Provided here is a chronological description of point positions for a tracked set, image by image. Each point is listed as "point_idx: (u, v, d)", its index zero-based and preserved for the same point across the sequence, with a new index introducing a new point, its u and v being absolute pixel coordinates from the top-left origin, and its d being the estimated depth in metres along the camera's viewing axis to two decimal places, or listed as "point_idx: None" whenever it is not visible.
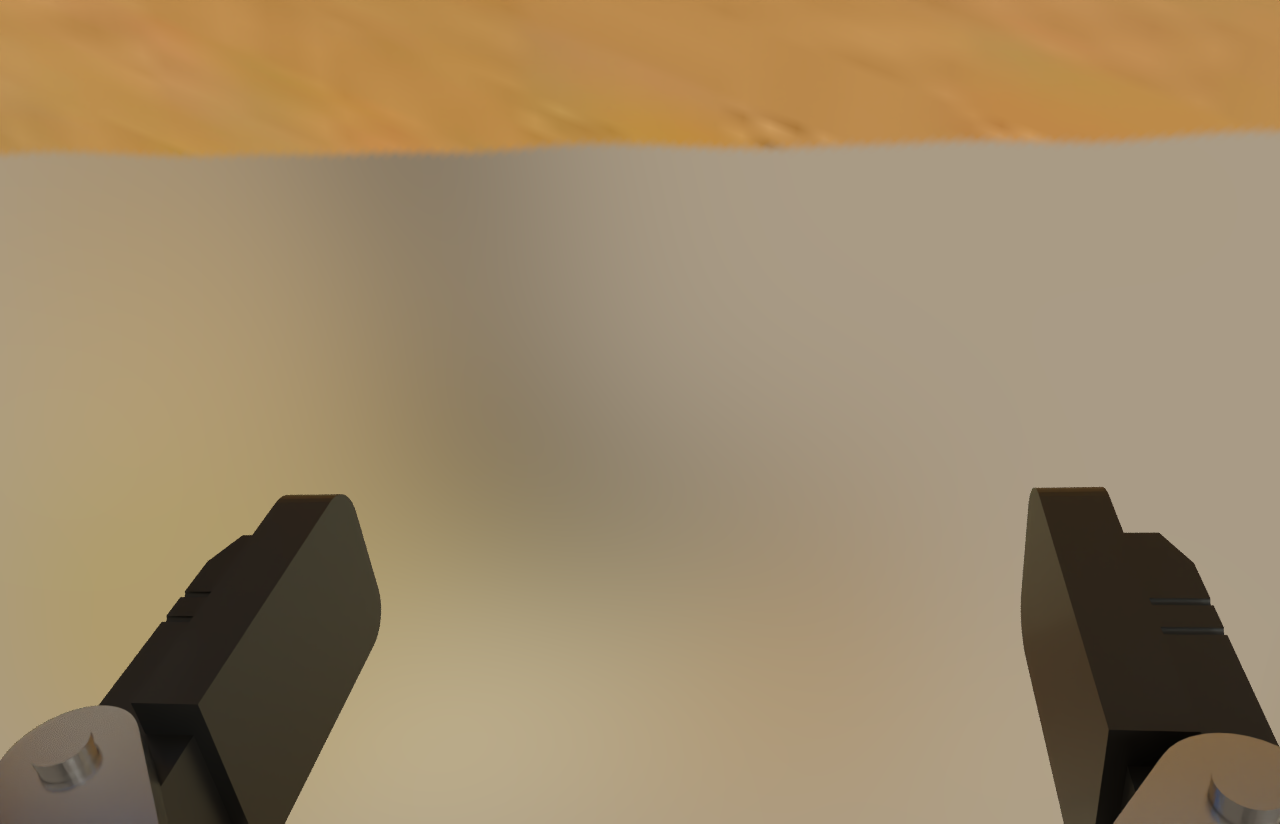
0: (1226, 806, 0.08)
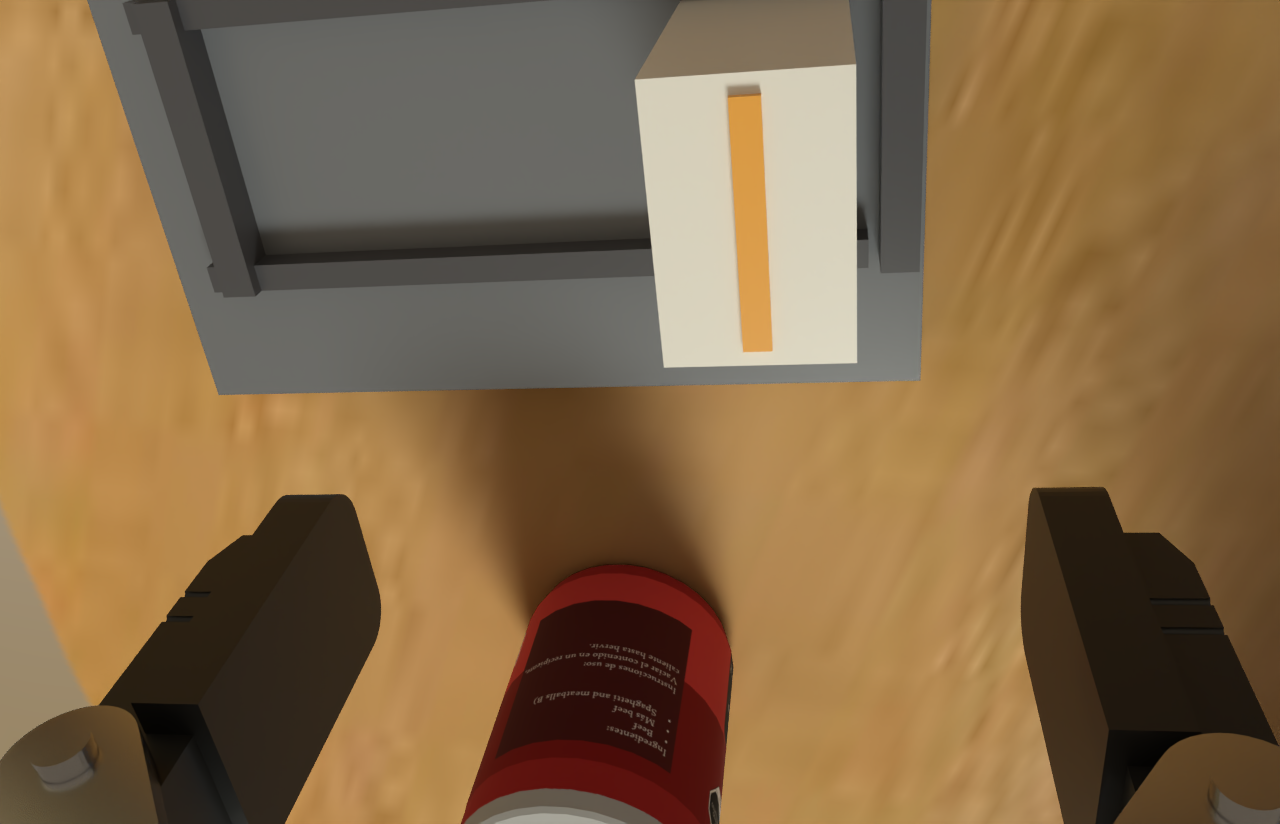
0: (1226, 806, 0.08)
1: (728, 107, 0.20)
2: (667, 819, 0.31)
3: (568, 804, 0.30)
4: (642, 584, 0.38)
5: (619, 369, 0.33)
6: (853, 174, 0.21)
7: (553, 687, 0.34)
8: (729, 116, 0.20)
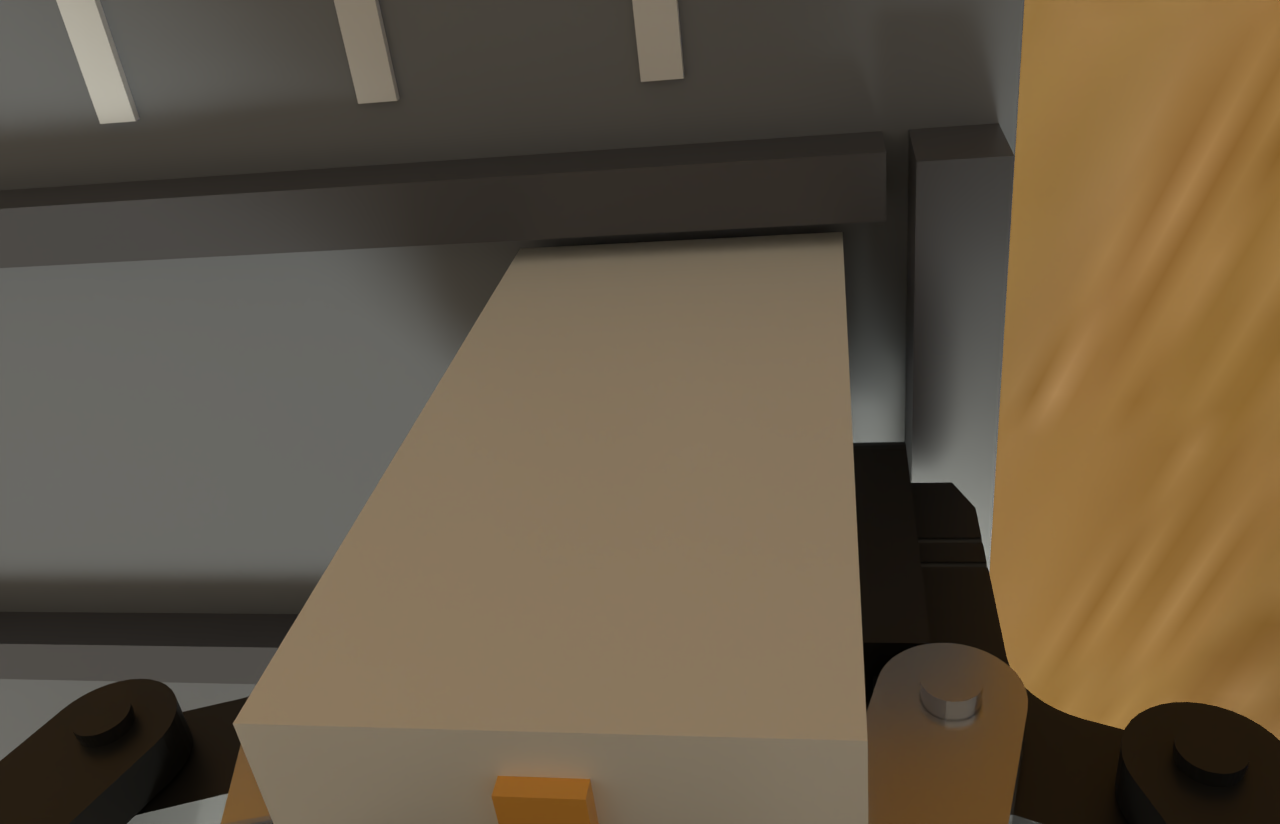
0: (928, 700, 0.09)
1: (499, 809, 0.07)
2: None
3: None
4: None
5: None
6: None
7: None
8: None
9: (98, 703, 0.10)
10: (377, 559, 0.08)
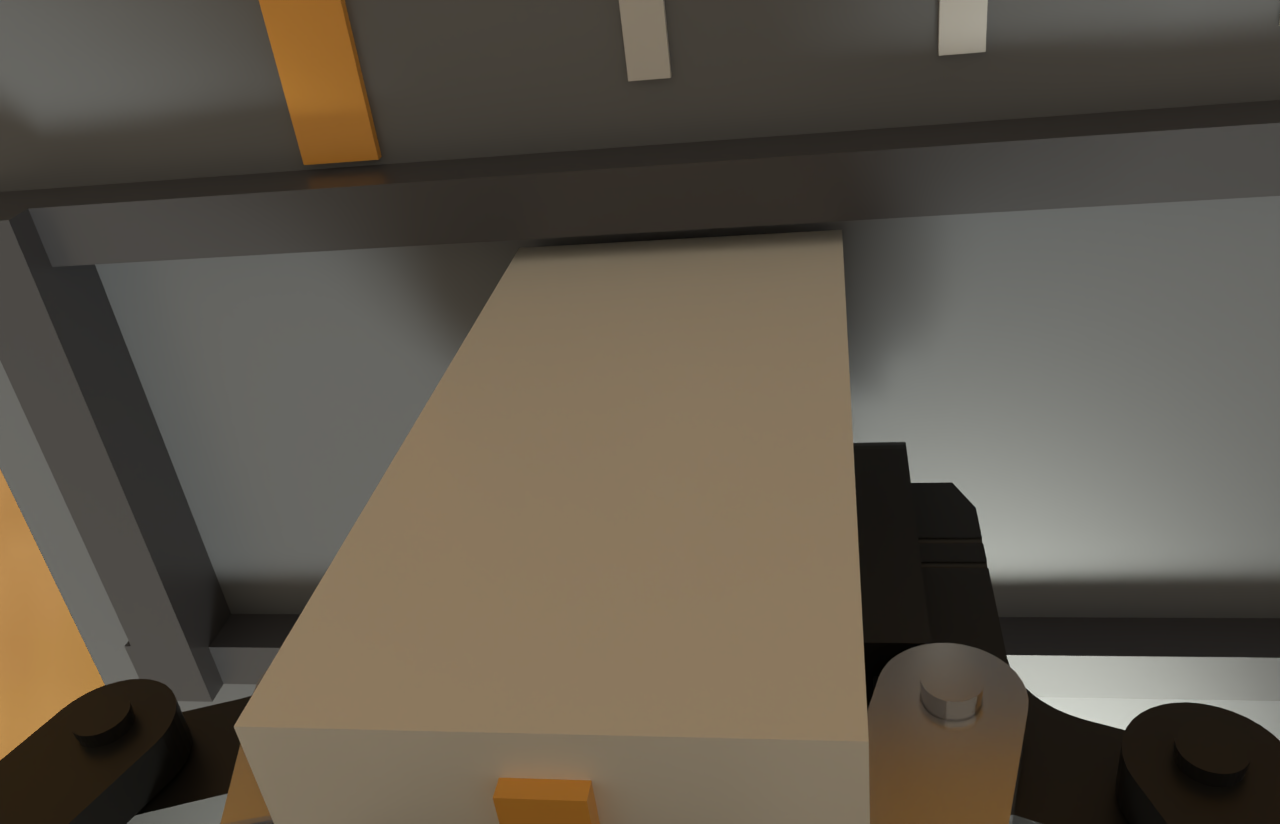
0: (929, 700, 0.09)
1: (500, 810, 0.07)
2: None
3: None
4: None
5: None
6: None
7: None
8: None
9: (98, 703, 0.10)
10: (377, 561, 0.08)
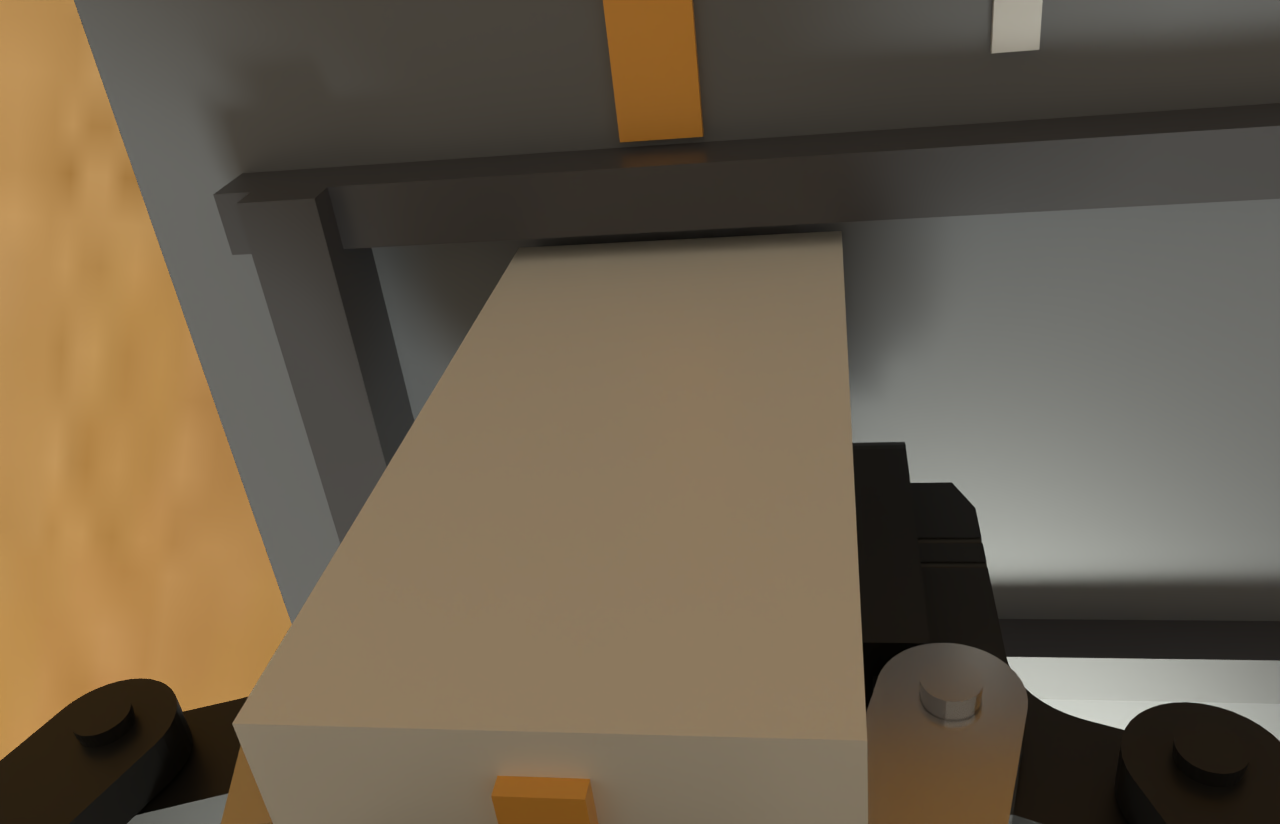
0: (928, 700, 0.09)
1: (499, 808, 0.07)
2: None
3: None
4: None
5: None
6: None
7: None
8: None
9: (98, 703, 0.10)
10: (376, 559, 0.08)
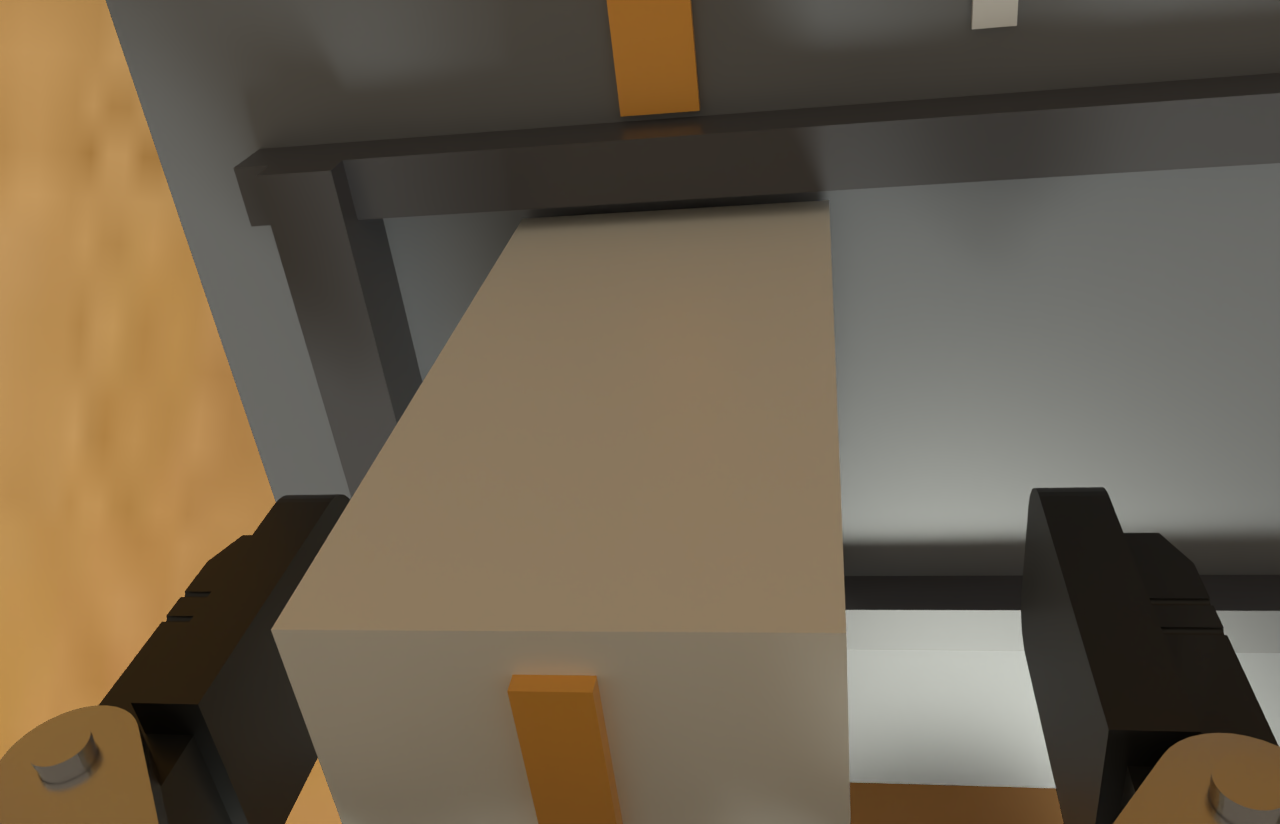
0: (1226, 806, 0.08)
1: (513, 705, 0.08)
2: None
3: None
4: None
5: None
6: None
7: None
8: (516, 725, 0.08)
9: None
10: (397, 491, 0.09)
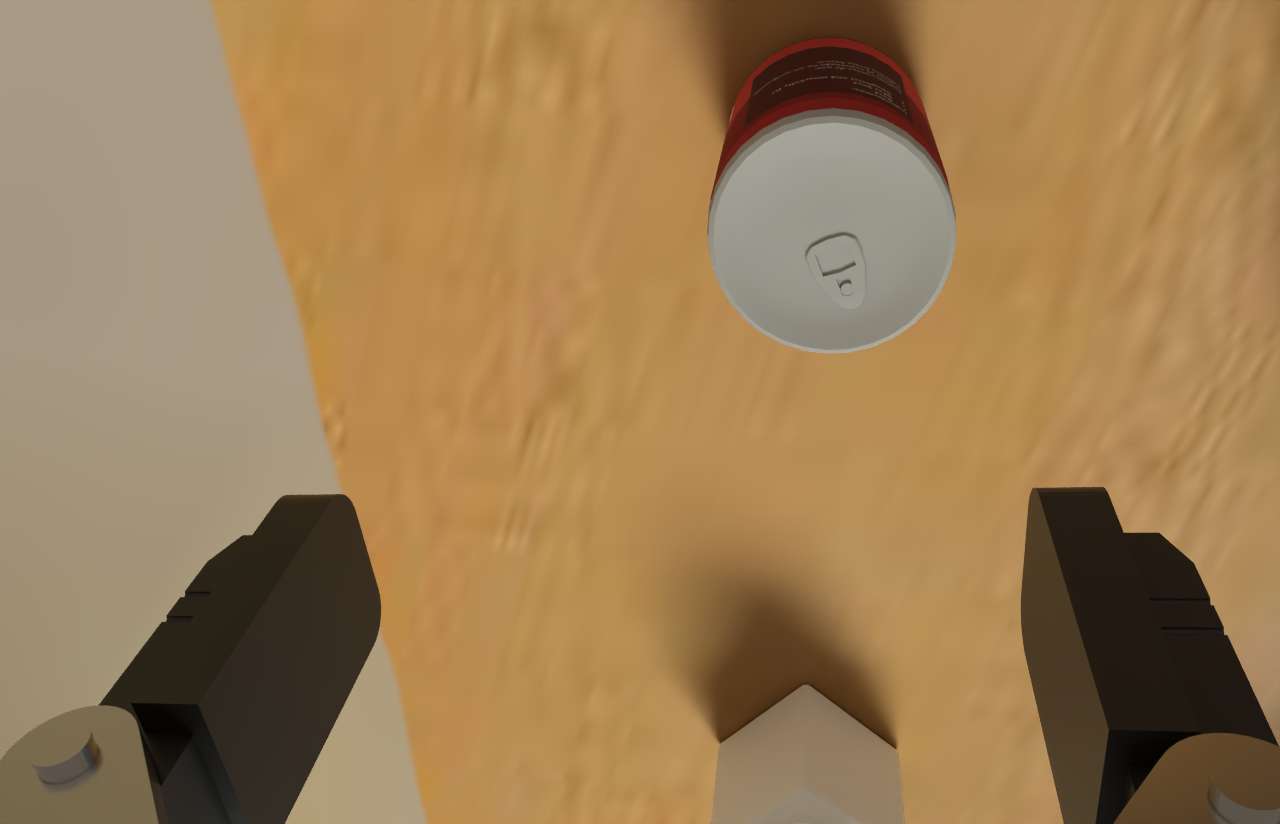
0: (1227, 806, 0.08)
1: None
2: (921, 143, 0.33)
3: (834, 114, 0.32)
4: (849, 42, 0.40)
5: None
6: None
7: (789, 81, 0.36)
8: None
9: None
10: None
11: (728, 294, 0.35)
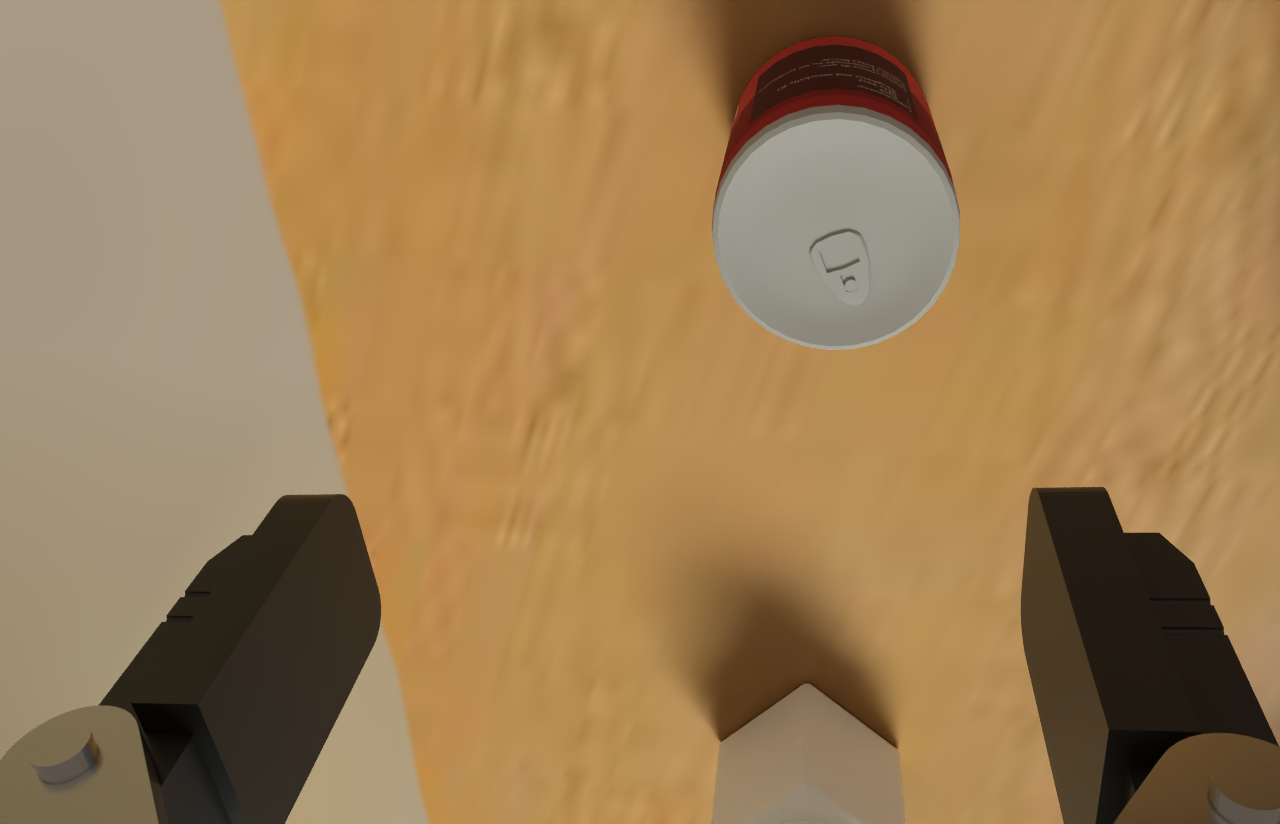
0: (1226, 806, 0.08)
1: None
2: (926, 140, 0.33)
3: (839, 111, 0.32)
4: (855, 40, 0.40)
5: None
6: None
7: (794, 79, 0.36)
8: None
9: None
10: None
11: (732, 290, 0.35)
